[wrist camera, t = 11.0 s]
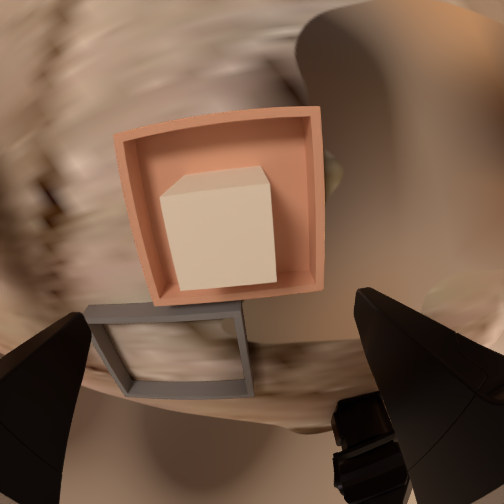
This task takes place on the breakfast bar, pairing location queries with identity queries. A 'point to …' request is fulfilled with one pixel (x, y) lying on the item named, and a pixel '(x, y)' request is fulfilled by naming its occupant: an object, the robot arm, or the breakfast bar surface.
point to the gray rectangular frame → (171, 313)
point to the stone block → (221, 228)
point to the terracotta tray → (220, 158)
